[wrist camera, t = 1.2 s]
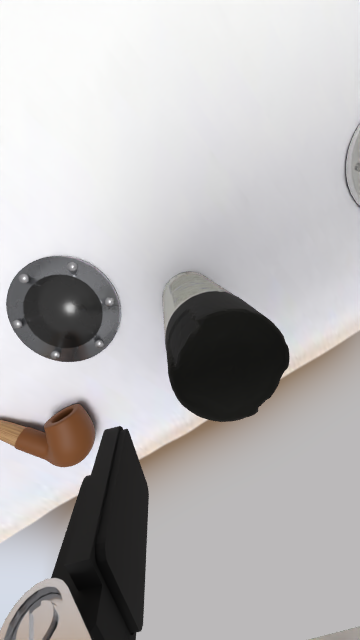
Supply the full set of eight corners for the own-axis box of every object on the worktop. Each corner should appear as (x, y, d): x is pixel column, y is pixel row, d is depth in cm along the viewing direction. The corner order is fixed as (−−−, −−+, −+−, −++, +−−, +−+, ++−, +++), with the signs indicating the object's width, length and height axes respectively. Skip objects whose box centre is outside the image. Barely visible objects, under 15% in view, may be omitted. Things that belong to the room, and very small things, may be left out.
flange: (101, 244, 30) (99, 244, 28) (133, 345, 34) (132, 349, 32) (-8, 270, 30) (-16, 272, 28) (36, 368, 33) (31, 374, 32)
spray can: (152, 307, 32) (143, 398, 13) (179, 259, 31) (212, 284, 12) (197, 331, 34) (247, 444, 15) (224, 286, 32) (320, 347, 13)
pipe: (-47, 425, 35) (-88, 460, 29) (90, 394, 35) (77, 423, 30) (-24, 467, 37) (-57, 507, 31) (105, 437, 38) (96, 472, 32)
